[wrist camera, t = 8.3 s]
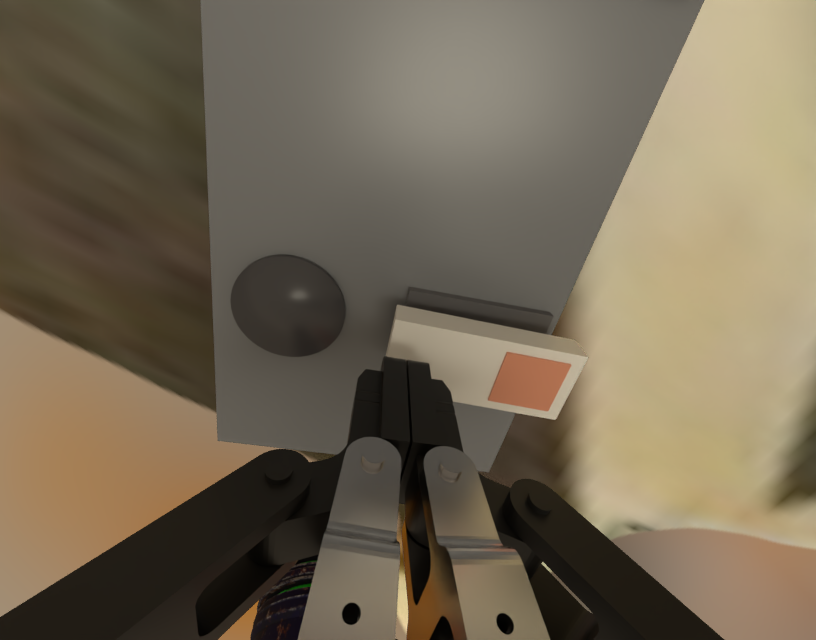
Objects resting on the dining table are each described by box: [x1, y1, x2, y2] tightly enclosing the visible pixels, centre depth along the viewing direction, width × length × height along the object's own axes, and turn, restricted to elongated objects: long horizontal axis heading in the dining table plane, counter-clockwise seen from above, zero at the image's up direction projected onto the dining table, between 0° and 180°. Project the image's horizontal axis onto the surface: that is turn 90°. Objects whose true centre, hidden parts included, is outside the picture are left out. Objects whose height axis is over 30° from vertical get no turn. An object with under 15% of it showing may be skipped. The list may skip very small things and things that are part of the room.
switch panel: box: [201, 0, 704, 472], centre depth 14 cm, size 14×30×4 cm, turn 168°
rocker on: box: [386, 305, 589, 420], centre depth 14 cm, size 7×3×1 cm, turn 78°
